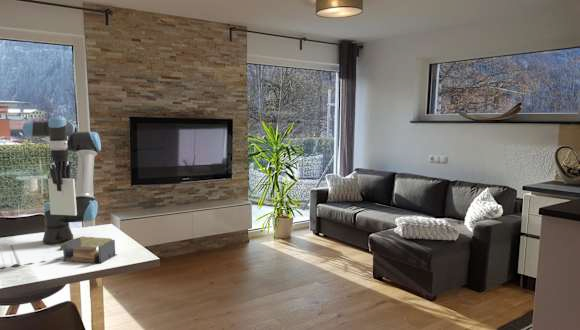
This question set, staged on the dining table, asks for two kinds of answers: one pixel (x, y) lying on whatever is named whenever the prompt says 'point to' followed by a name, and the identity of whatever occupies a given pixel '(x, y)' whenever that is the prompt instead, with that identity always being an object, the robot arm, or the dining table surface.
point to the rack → (104, 250)
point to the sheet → (63, 204)
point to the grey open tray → (90, 241)
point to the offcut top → (84, 249)
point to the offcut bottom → (84, 259)
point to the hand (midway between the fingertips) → (62, 197)
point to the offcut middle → (87, 255)
